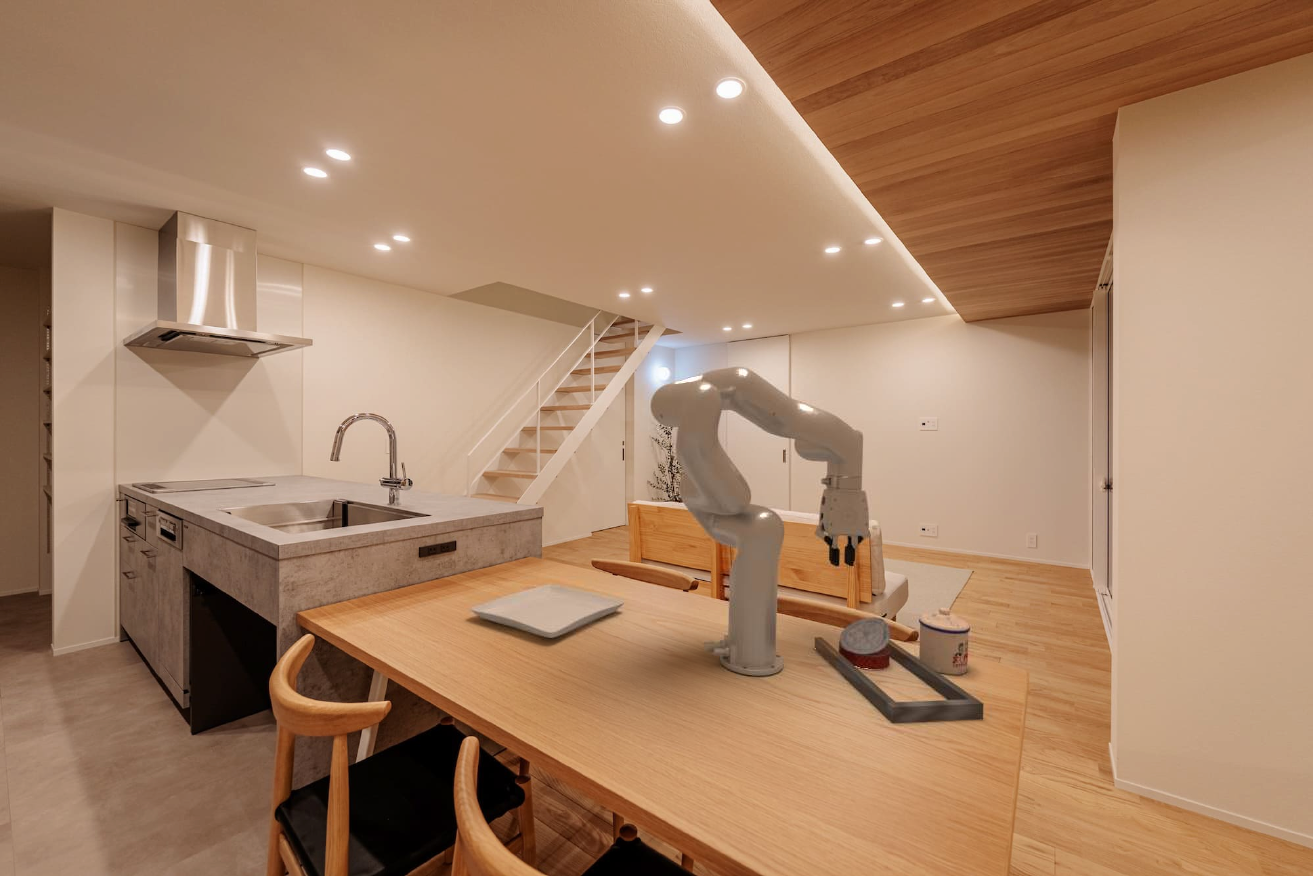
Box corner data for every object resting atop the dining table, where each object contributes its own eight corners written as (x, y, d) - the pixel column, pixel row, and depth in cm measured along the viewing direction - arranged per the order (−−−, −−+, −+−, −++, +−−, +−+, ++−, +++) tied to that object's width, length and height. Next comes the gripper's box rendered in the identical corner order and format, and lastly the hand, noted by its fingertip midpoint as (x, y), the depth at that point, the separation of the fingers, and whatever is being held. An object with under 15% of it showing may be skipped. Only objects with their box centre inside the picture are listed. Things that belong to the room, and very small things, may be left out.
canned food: (888, 691, 106) (902, 657, 101) (837, 680, 107) (847, 646, 102) (880, 645, 115) (891, 613, 111) (832, 636, 117) (842, 604, 112)
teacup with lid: (962, 680, 100) (964, 619, 100) (912, 665, 107) (913, 608, 107) (976, 661, 109) (978, 605, 109) (928, 649, 116) (930, 596, 115)
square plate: (627, 614, 134) (627, 599, 134) (551, 650, 111) (551, 631, 111) (548, 594, 148) (549, 581, 148) (467, 622, 125) (467, 606, 125)
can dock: (892, 722, 85) (892, 707, 85) (814, 648, 114) (814, 637, 114) (983, 718, 87) (983, 703, 87) (883, 647, 116) (884, 635, 116)
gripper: (816, 484, 115) (814, 569, 115) (886, 486, 117) (884, 569, 117) (803, 481, 122) (800, 561, 122) (869, 482, 124) (866, 561, 124)
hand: (841, 564), depth 119 cm, fingers open, 2 cm apart
